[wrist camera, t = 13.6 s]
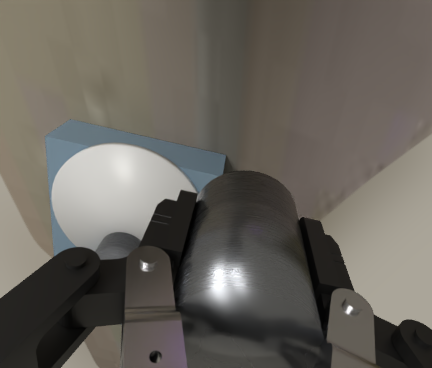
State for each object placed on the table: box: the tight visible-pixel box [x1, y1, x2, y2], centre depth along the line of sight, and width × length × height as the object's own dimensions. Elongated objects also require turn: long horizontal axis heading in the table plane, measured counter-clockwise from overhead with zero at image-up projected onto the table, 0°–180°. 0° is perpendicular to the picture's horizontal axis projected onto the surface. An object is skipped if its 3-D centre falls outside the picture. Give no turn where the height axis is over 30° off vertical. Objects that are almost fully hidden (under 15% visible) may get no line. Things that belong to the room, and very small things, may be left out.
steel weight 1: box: [95, 232, 141, 260], centre depth 26 cm, size 4×4×6 cm
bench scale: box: [45, 119, 226, 325], centre depth 28 cm, size 16×14×8 cm
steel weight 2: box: [173, 171, 324, 368], centre depth 11 cm, size 4×4×6 cm
